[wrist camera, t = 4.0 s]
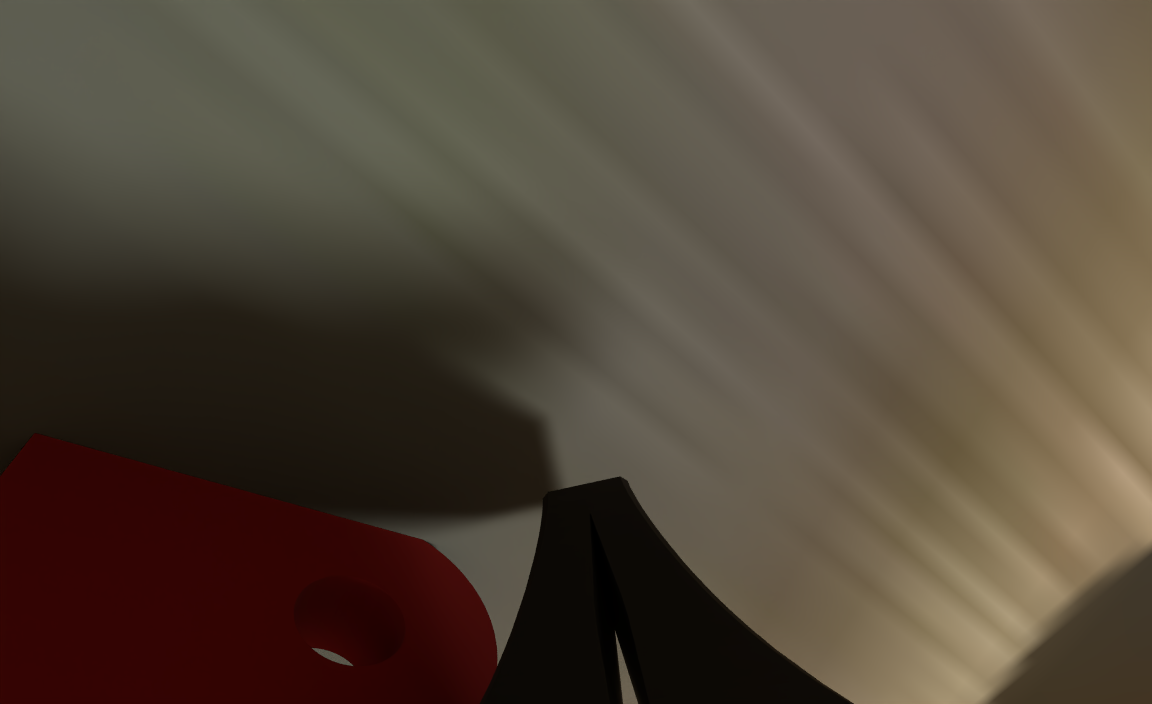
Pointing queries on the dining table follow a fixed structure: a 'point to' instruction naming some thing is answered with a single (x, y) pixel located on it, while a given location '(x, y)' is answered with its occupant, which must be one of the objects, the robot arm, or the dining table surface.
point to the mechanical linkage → (217, 595)
